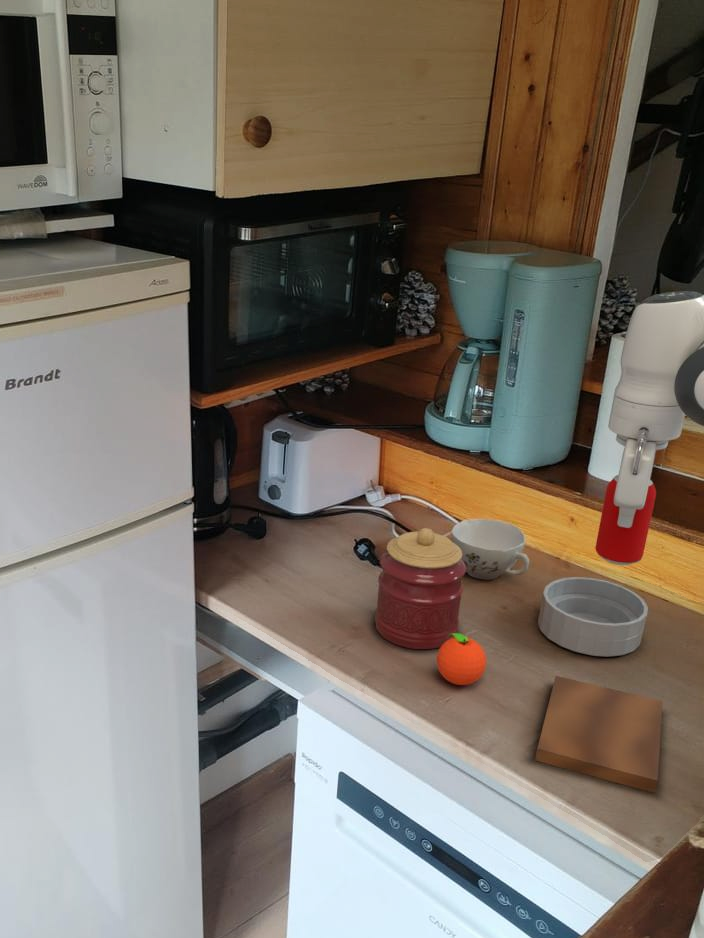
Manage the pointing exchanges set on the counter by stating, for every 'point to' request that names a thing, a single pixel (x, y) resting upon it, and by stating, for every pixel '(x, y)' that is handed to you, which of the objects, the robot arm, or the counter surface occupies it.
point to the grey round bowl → (592, 616)
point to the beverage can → (623, 529)
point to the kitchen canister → (419, 590)
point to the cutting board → (602, 733)
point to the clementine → (461, 660)
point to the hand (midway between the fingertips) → (626, 515)
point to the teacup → (490, 547)
